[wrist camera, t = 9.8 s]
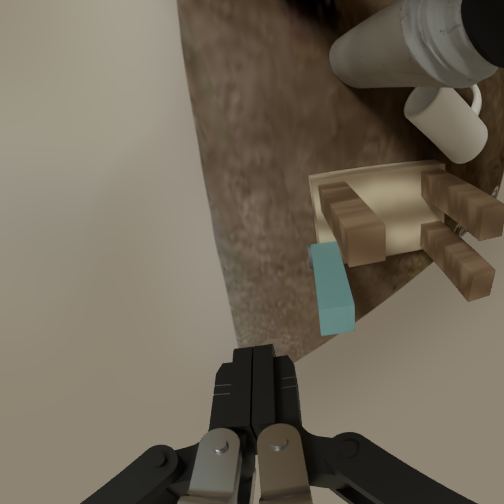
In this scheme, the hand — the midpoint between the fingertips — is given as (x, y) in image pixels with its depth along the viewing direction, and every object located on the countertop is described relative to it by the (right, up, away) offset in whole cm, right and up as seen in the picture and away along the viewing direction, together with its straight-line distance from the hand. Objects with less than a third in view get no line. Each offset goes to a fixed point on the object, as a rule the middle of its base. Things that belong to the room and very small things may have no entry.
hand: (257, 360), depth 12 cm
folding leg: (+10, +4, +31) cm, 33 cm away
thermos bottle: (+14, +29, +22) cm, 39 cm away
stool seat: (+18, +11, +31) cm, 38 cm away
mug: (+27, +25, +24) cm, 44 cm away
